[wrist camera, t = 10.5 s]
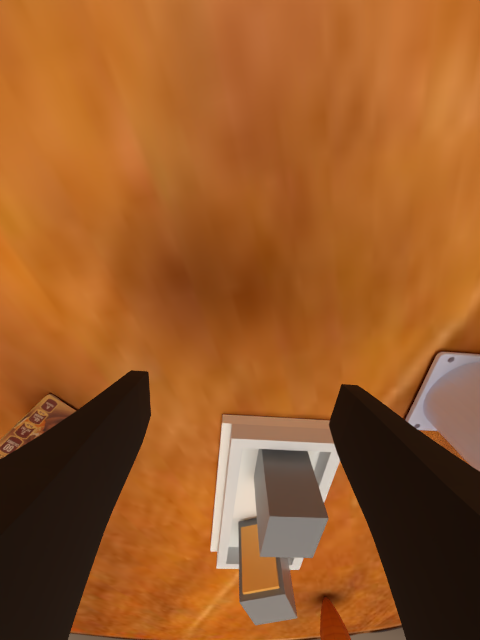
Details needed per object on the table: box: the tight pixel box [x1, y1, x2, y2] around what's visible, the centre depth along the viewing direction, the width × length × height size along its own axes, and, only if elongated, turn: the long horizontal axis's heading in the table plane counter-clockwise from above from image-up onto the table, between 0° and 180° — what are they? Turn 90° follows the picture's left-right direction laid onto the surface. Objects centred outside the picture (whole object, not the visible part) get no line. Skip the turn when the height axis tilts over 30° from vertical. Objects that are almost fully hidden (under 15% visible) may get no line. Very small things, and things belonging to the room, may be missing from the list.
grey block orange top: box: [238, 518, 297, 625], centre depth 24 cm, size 4×5×6 cm
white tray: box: [211, 414, 340, 570], centre depth 25 cm, size 11×20×2 cm, turn 174°
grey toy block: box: [254, 449, 328, 558], centre depth 20 cm, size 4×5×6 cm
